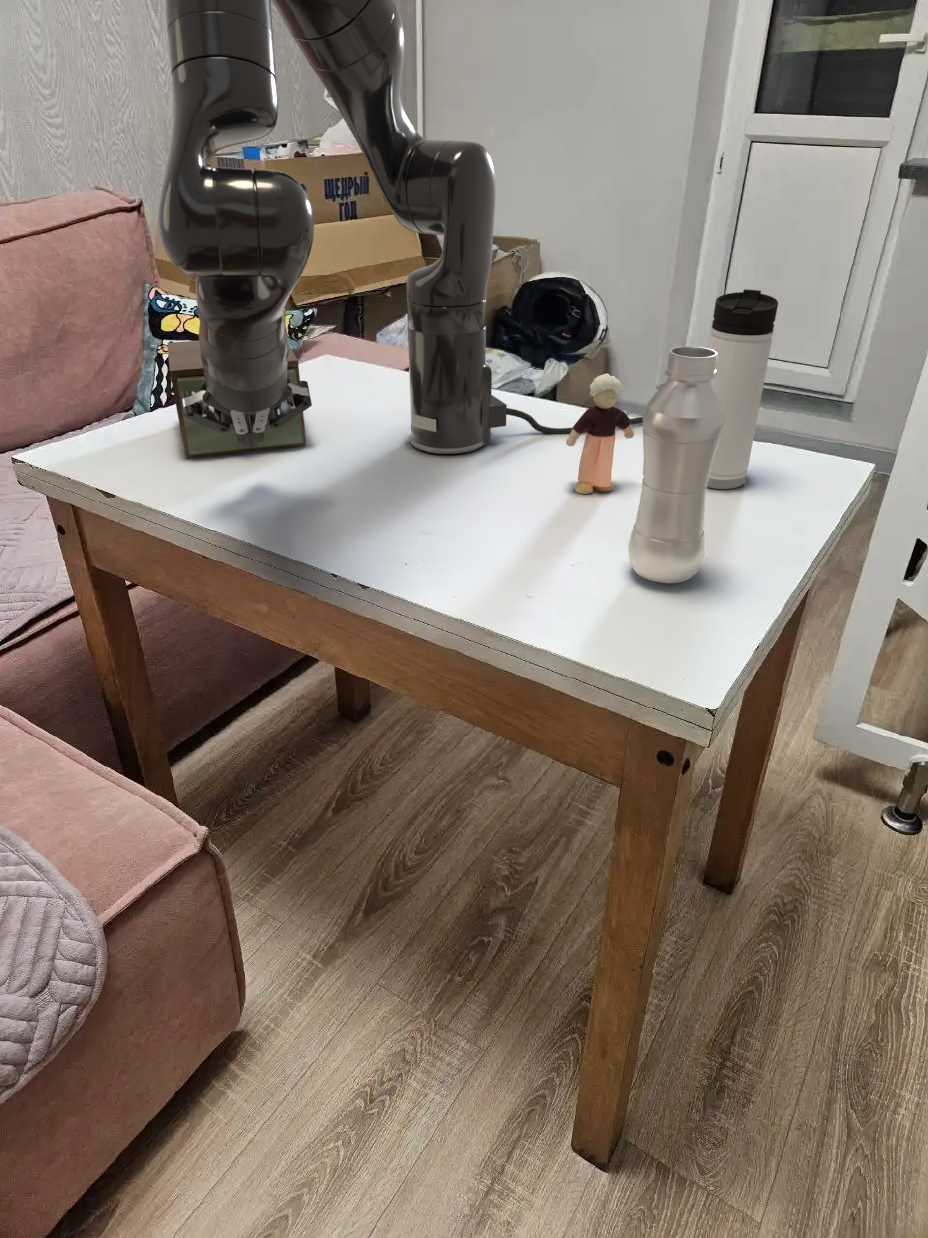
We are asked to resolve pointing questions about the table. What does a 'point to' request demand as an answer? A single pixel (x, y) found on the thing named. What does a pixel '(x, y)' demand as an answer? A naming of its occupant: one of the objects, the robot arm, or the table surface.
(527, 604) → the table surface
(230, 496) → the table surface
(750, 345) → the travel mug
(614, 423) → the grandmother figurine
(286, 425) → the drawer
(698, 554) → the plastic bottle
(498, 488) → the table surface
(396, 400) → the table surface
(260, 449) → the cabinet
